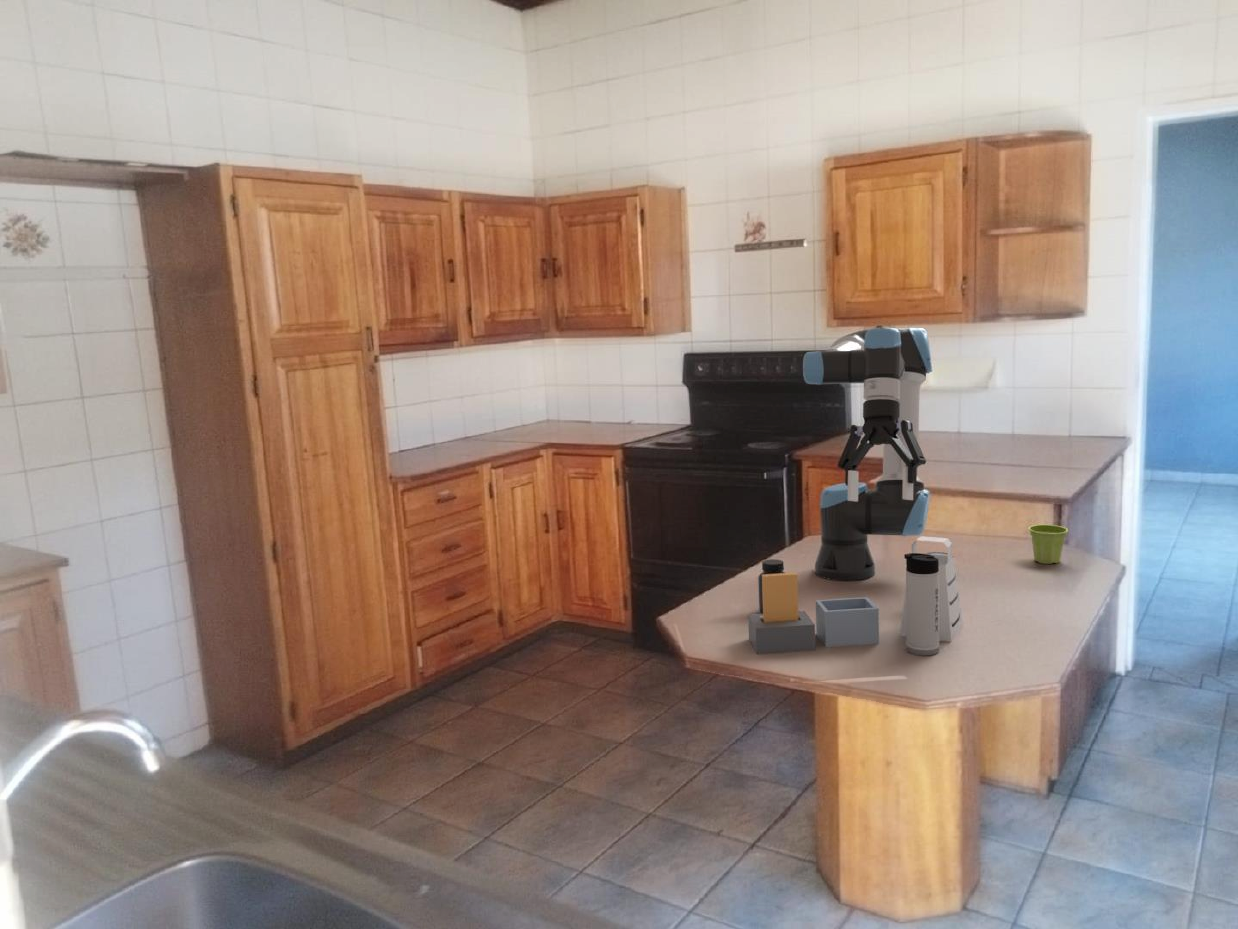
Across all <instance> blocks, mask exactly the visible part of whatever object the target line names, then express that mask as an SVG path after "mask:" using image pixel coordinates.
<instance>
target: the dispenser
mask: <svg viewBox="0 0 1238 929" xmlns="http://www.w3.org/2000/svg"><path fill="white" fill-rule="evenodd" d="M747 615H748V616H747V617H748V618H747V621H748V623H747V624H748V640H749V642H750V645H751V646H752V649H753V650H754V652H755V654H756V655H767V654H781V653H798V652H809V651H810V652H811V651H816V623H815V622H814V621H813V620H812V619H811V617H810V615H809V614H807V613H806V611H805V610H800V611H799V610H798V620H793V621H777V622H763V614H761V613H754V614H753V613H752V614H747Z"/></svg>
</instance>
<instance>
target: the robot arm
mask: <svg viewBox="0 0 1238 929" xmlns="http://www.w3.org/2000/svg"><path fill="white" fill-rule="evenodd" d="M802 360H803V361H802V372H803V373H802V375H803V379H804V382H805V383H806V384H807V385H808V384H809V385H817V386H818V385H819V386H820V385H834V384H835V385H836V384H863V399H864V400H865V401H864V402H863V404H862V418H863V422H864V423H863V425H856V424H851V426H850V431H849V436H848V438H847V441H846V444H845V447H844V448H843V451H842V454H841V455H840V458H839V461H838V462H837V467H838V468H840V469H843V470H844V471H845V473H844V474H845V477H844V478H845V480H844V482H843V483H838V484H834V485H830V486H828V487H825V488H824V489H823V490H822V491H821V493H820V504H819V508H820V532H821V533H820V535H821V537H820V538H821V541H820V542H821V543H820V547H819V551H818V554H817V556H816V561H815V564H814V573H815V575H817V576H818V577H820V578H823V577H825V578H824V579H827V578H829V579H828V580H832V579H835V580H834V581H857V580H864V579H868V578H871V577H873V576H874V575H875V574H876V568H875V566H876V565H875V562H874V559H873V556H872V553H871V550H870V547H869V544H868V535H874V536H875V535H876V536H877V535H878V536H901V537H908V536H909V537H910V536H911V537H912V536H915V537H916V536H921V535H922V534H923V532H924V531H925V529H926V525H927V521H928V520H927V519H928V515H929V514H928V513H929V508H930V498H931V492H930V490H928V489H926V488H925V482H924V481H923V480H921V478H920V477H919V467H920V466H922V465H923V466H924V465H926V462H927V460H926V458H925V455H924V453H923V451H922V449H921V448H922V447H920V445H919V444H920V443H919V439H920V438H919V437H920V436H919V434H920V431H919V430H920V387H921V385H922V384H924V383H925V381H926V379H927V374H929V373H931V372H933V366H932V357H931V351H930V342H929V335H928V332H927V331H926V329H924V328H921V327H909V326H908V327H901V328H900V327H899V328H893V327H873V328H871V329H863V330H857V331H855V332H852V333H850V334H849V333H848V334H846V335H844V336H841V337H839V338H837V340H835V341H834V342H833V343H832V344H831V346H830V348H828V349H827V350H823V351H822V350H816V351H807V352H806V353H804V356H803V359H802ZM862 436H863V437H862ZM881 445H883V450H882V451H883V452H882V454H883V455H882V457H883V458H882V475H881V477H879V479H878V480H876V481H875V482H876V484H875V485H876V486H875V488H868V486H867V483H865V482H861V481H860V482H859V478H860V477H859V476H860V475H859V471H858V470H857V468H858V467H859V465H860V464H861V462H862V461H863V460H864V458H865V457H866V455H867V454H868V452H870V449H871V448H873V447H874V446H881Z"/></svg>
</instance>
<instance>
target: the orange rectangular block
mask: <svg viewBox="0 0 1238 929" xmlns="http://www.w3.org/2000/svg"><path fill="white" fill-rule="evenodd" d="M798 584H799V583H798V573H797V572H785V573H779V574H764V575H762V595H763V622H777V621H793V620H798V611H799V596H798V595H799V591H798V590H799V588H798V587H799V586H798Z"/></svg>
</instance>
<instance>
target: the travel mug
mask: <svg viewBox="0 0 1238 929" xmlns="http://www.w3.org/2000/svg"><path fill="white" fill-rule="evenodd" d="M904 559H906V562H905V564H906V568H905V572H906V573H905V585H906V586H905V592H906V636H905V637H906V650H907V652H908V653H910V654H912V655H915V656H923V657H924V656H925V657H926V656H934V655H936V654H938V653H939V651H940V640H939V567H938V566H939V562H938V559H937V558H934V556H932V555H927V554H925V553H922V554H920V553H919V552H917V553H912V552H911V553H910V552H909V553H905V554H904Z"/></svg>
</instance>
